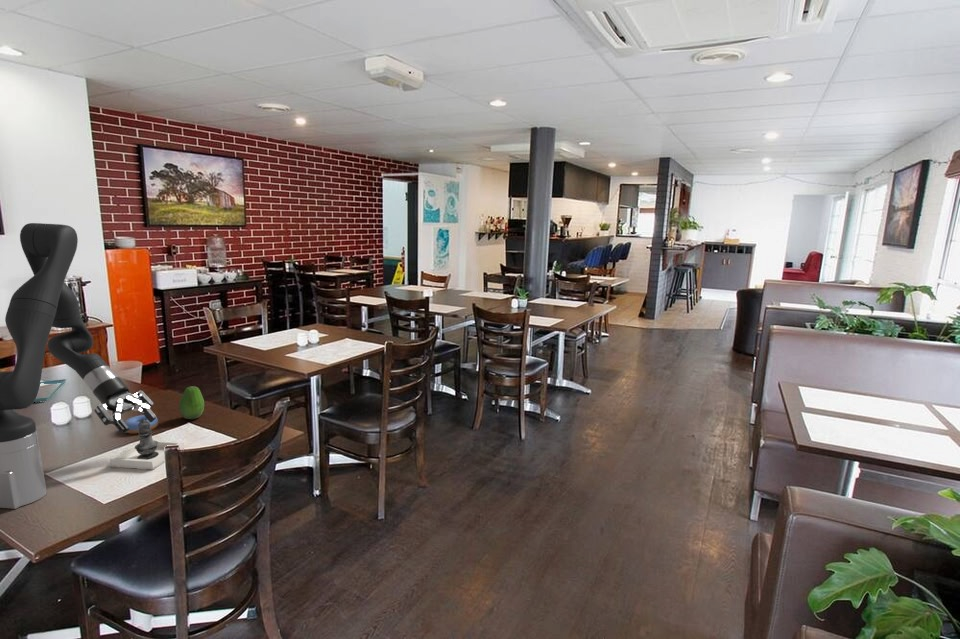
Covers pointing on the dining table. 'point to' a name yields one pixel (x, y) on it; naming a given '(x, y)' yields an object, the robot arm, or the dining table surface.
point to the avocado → (191, 403)
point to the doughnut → (134, 422)
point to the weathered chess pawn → (146, 442)
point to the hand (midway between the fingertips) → (140, 425)
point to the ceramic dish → (130, 459)
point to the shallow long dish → (53, 391)
